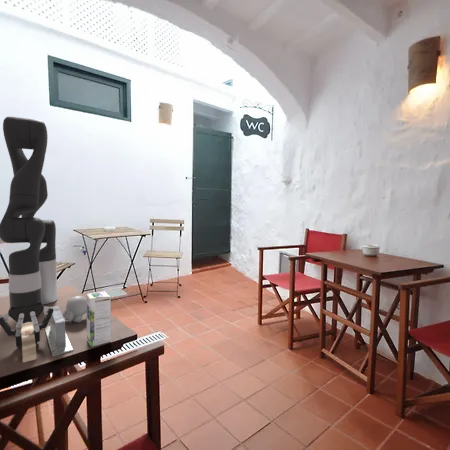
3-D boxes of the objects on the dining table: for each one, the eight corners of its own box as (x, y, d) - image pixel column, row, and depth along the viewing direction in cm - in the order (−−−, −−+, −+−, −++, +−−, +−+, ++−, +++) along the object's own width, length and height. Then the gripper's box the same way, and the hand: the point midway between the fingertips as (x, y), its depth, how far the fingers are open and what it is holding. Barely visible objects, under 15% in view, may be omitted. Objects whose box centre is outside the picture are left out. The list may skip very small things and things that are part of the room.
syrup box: (86, 339, 89) (85, 293, 88) (106, 334, 93) (105, 290, 91) (90, 347, 85) (89, 299, 83) (111, 341, 88) (111, 295, 87)
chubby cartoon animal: (98, 326, 104) (107, 303, 105) (63, 322, 96) (73, 297, 97) (93, 319, 109) (101, 297, 111) (59, 314, 102) (68, 291, 103)
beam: (21, 335, 91) (20, 322, 91) (32, 332, 93) (32, 320, 93) (22, 362, 77) (22, 347, 76) (36, 359, 79) (35, 344, 78)
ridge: (44, 328, 96) (43, 305, 95) (61, 324, 99) (61, 301, 98) (52, 356, 80) (51, 328, 79) (72, 350, 83) (72, 323, 82)
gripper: (52, 280, 90) (54, 333, 92) (-6, 288, 82) (-3, 346, 84) (55, 286, 84) (57, 343, 86) (-7, 295, 76) (-3, 358, 78)
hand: (28, 344), depth 85 cm, fingers closed on beam, 3 cm apart
